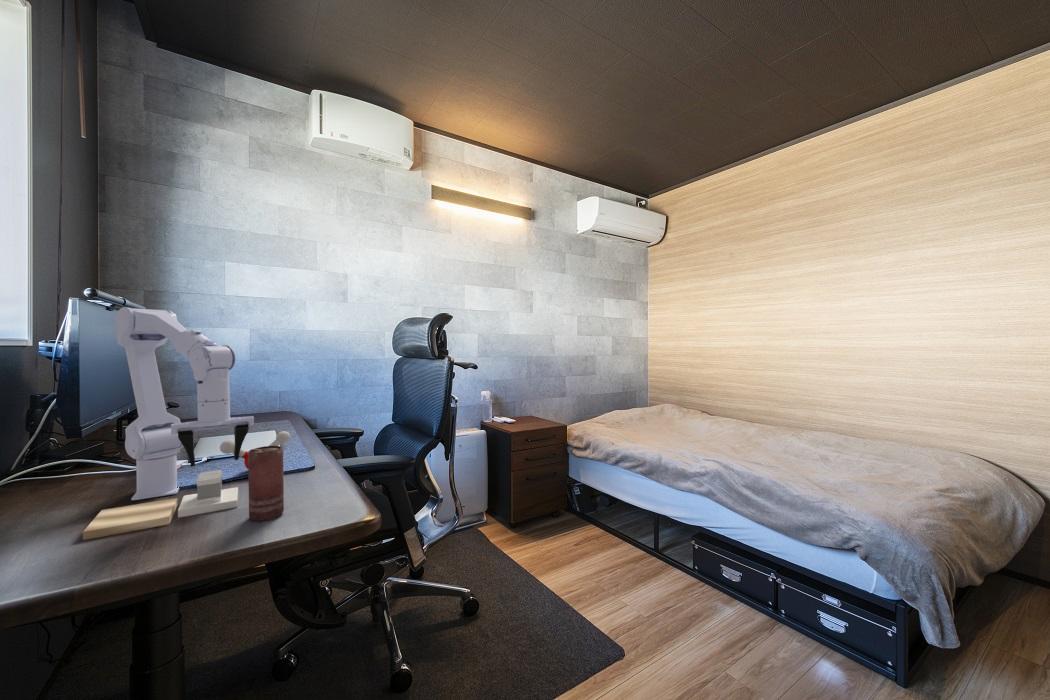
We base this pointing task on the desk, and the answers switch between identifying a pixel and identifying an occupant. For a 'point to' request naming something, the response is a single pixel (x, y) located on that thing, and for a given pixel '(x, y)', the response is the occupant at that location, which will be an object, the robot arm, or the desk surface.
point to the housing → (209, 487)
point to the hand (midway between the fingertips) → (215, 462)
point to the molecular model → (229, 447)
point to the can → (265, 483)
